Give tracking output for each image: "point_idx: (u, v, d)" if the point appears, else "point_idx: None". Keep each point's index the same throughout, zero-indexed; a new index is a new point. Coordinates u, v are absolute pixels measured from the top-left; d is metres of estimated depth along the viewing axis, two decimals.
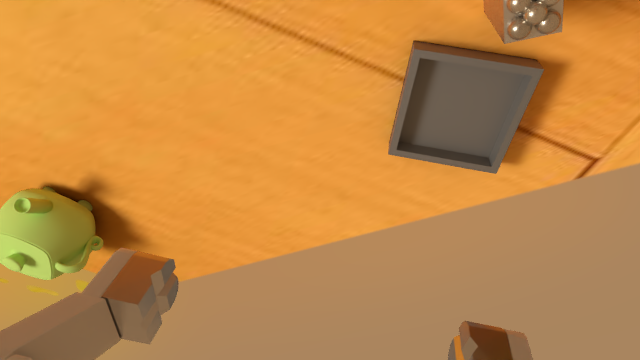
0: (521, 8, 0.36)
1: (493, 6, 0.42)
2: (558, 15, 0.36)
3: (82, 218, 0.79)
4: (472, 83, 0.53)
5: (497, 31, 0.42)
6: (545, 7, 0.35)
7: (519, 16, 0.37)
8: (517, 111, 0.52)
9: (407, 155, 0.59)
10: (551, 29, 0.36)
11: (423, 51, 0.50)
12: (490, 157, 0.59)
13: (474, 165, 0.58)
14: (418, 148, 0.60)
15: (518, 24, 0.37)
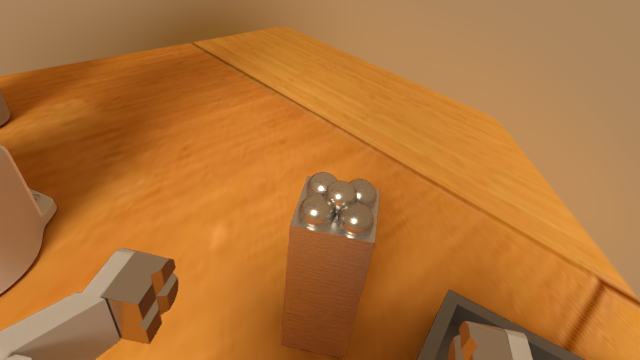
0: (324, 201, 0.23)
1: (325, 295, 0.26)
2: None
3: None
4: None
5: (361, 284, 0.25)
6: None
7: (337, 215, 0.24)
8: None
9: None
10: (369, 185, 0.25)
11: None
12: None
13: None
14: None
15: (347, 211, 0.23)
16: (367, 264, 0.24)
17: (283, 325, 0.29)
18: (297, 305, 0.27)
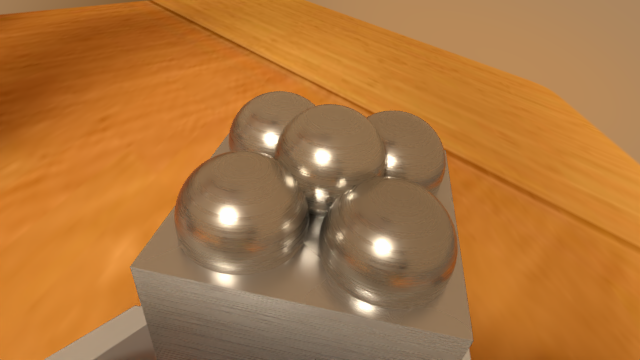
0: (266, 171, 0.06)
1: None
2: None
3: None
4: None
5: None
6: None
7: (321, 226, 0.06)
8: None
9: None
10: (426, 125, 0.08)
11: None
12: None
13: None
14: None
15: (356, 209, 0.06)
16: None
17: None
18: None
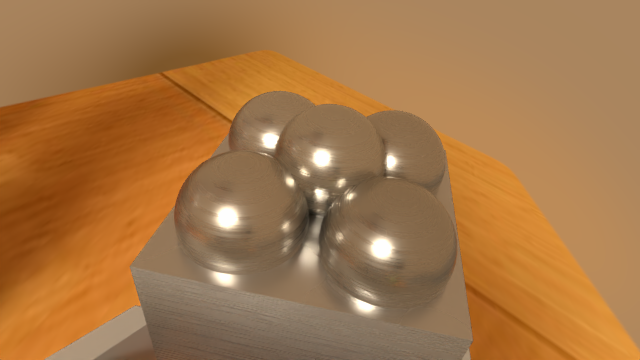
0: (266, 171, 0.06)
1: None
2: None
3: None
4: None
5: None
6: None
7: (321, 226, 0.06)
8: None
9: None
10: (426, 125, 0.08)
11: None
12: None
13: None
14: None
15: (356, 208, 0.06)
16: None
17: None
18: None
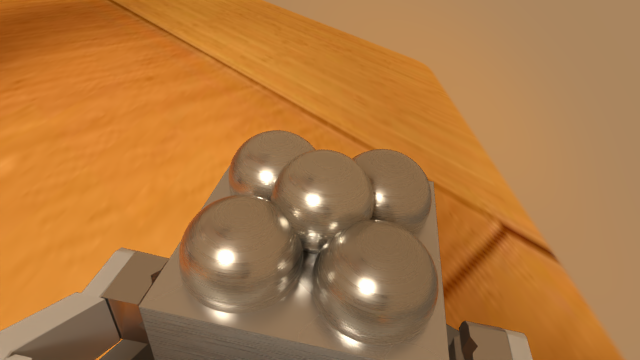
0: (263, 218, 0.07)
1: None
2: None
3: None
4: None
5: None
6: None
7: (314, 265, 0.07)
8: None
9: None
10: (413, 165, 0.08)
11: None
12: None
13: None
14: None
15: (345, 253, 0.06)
16: None
17: None
18: None
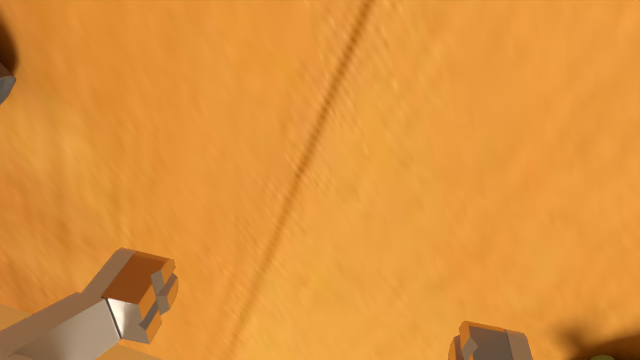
0: None
1: None
2: None
3: None
4: None
5: None
6: None
7: None
8: None
9: None
10: None
11: None
12: None
13: None
14: None
15: None
16: None
17: None
18: None
